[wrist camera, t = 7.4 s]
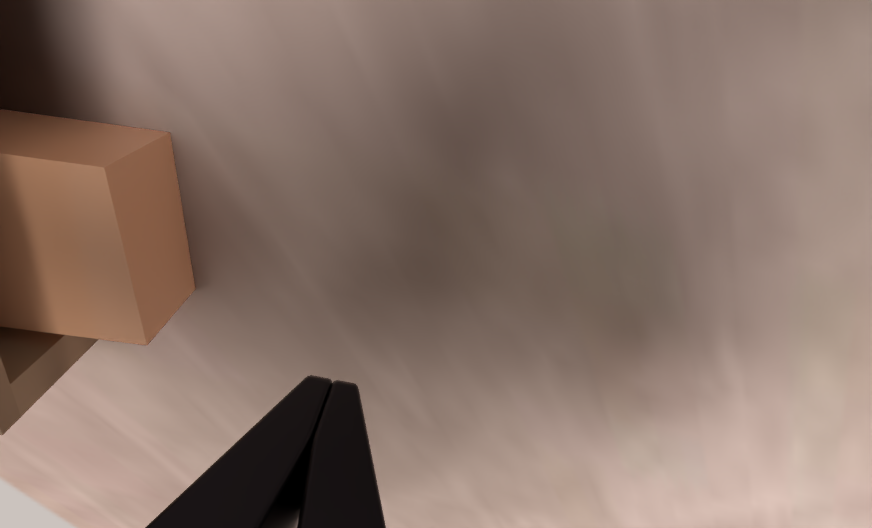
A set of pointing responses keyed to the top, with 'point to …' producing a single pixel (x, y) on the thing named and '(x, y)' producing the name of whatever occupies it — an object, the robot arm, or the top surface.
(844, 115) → the top surface
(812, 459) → the top surface
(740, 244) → the top surface
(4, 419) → the shelf
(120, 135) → the peach cardboard box
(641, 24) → the top surface
